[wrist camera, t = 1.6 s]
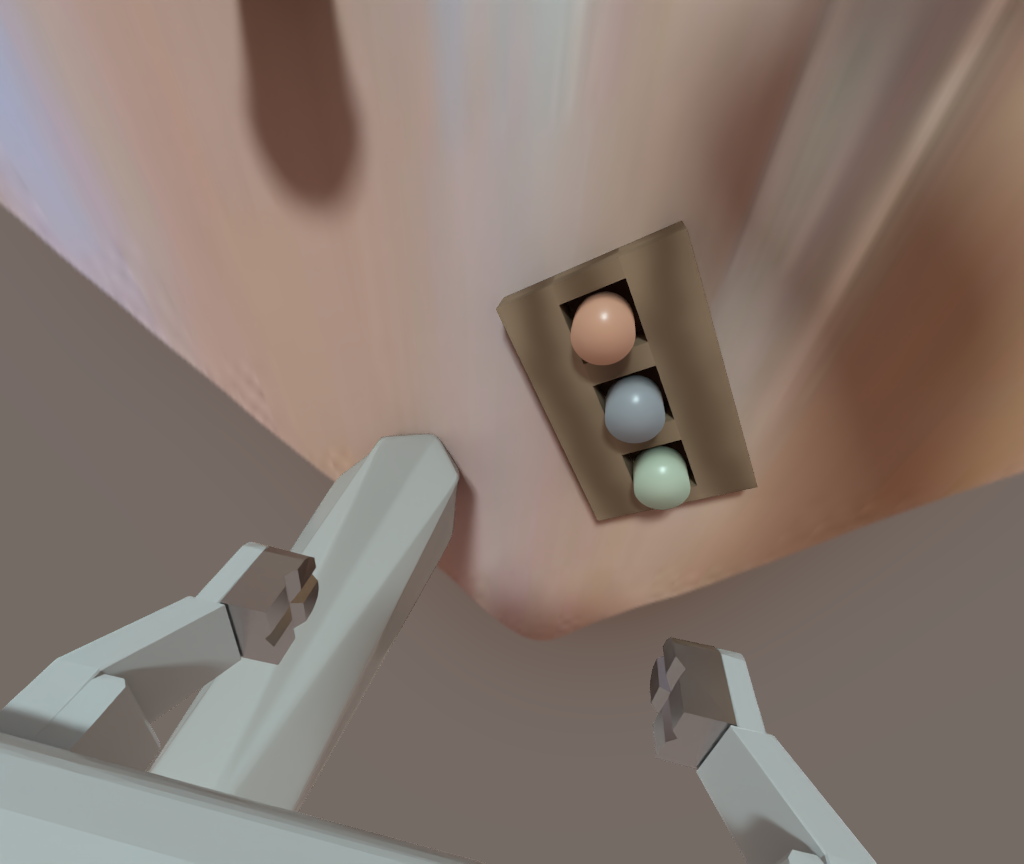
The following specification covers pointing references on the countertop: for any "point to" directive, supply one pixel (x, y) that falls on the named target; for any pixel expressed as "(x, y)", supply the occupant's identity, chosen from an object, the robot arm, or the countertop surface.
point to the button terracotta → (603, 328)
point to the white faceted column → (325, 630)
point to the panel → (662, 343)
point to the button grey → (634, 409)
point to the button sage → (660, 478)
